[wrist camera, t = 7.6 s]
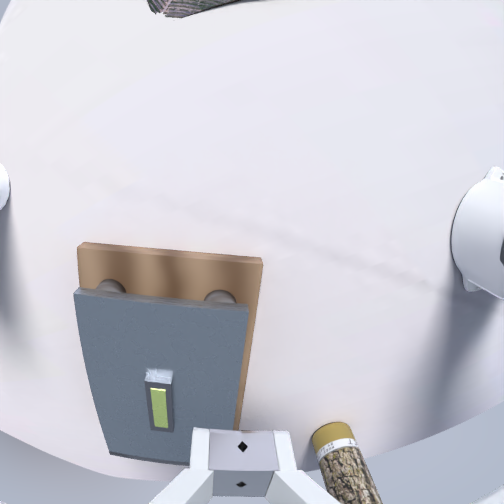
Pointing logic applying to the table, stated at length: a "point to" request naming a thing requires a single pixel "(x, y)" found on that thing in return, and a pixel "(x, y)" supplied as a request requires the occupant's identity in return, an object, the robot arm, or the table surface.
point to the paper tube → (343, 465)
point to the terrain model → (184, 6)
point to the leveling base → (176, 281)
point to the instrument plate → (160, 369)
